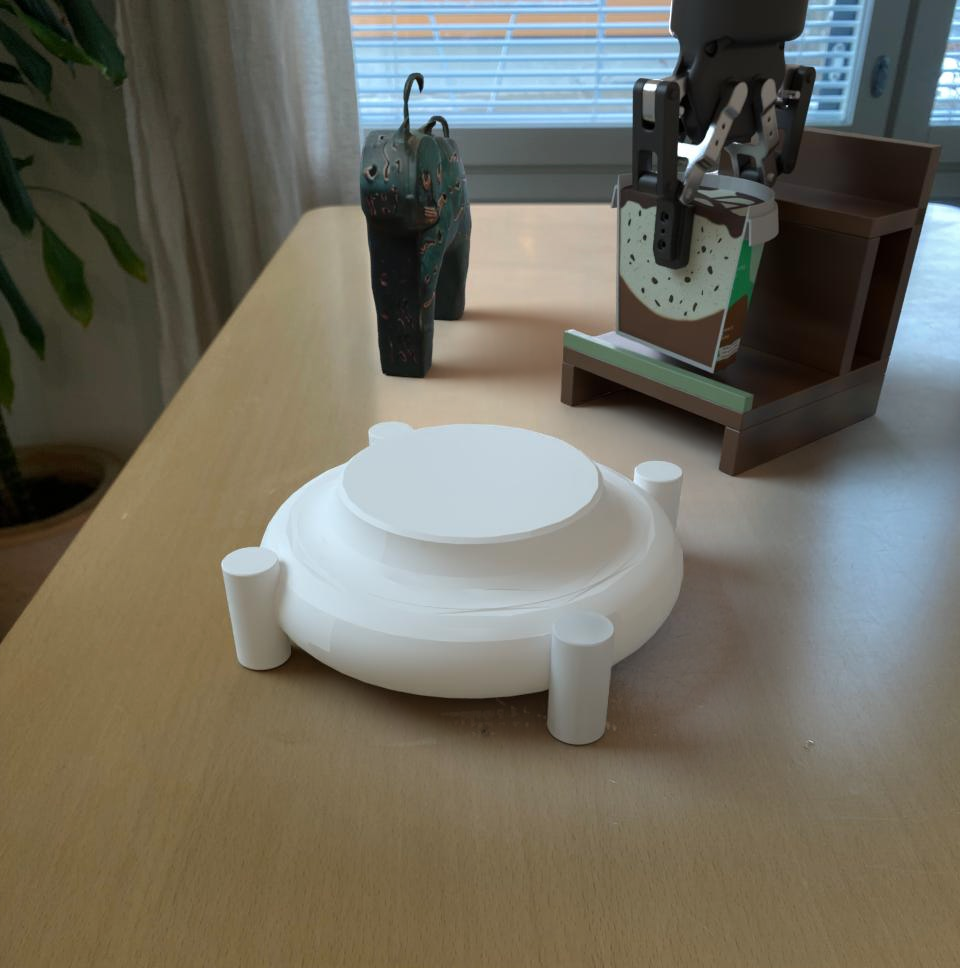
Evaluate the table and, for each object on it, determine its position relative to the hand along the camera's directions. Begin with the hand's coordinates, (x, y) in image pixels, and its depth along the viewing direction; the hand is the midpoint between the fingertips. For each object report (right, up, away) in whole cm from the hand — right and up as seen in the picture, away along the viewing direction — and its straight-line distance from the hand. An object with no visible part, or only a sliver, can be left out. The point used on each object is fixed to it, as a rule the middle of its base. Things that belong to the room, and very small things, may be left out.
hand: (706, 256), depth 63 cm
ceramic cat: (-19, 0, +20) cm, 28 cm away
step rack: (+3, -8, +8) cm, 12 cm away
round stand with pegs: (-15, -23, -13) cm, 30 cm away
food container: (0, -5, +3) cm, 6 cm away
